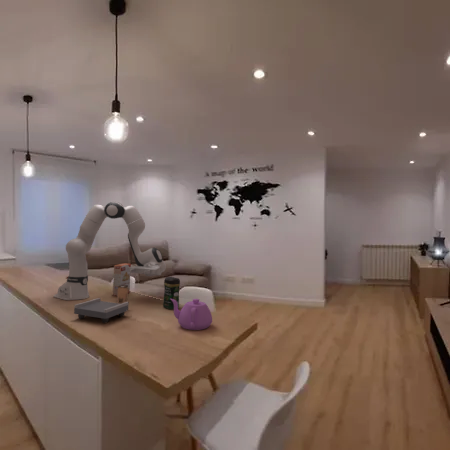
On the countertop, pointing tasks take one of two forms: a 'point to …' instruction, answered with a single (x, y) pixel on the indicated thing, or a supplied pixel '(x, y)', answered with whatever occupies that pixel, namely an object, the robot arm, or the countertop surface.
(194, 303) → the teakettle
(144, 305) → the countertop surface
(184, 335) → the countertop surface
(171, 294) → the coffee jar
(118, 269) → the cracker box
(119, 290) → the canister
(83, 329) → the countertop surface
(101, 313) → the grey rimmed tray
